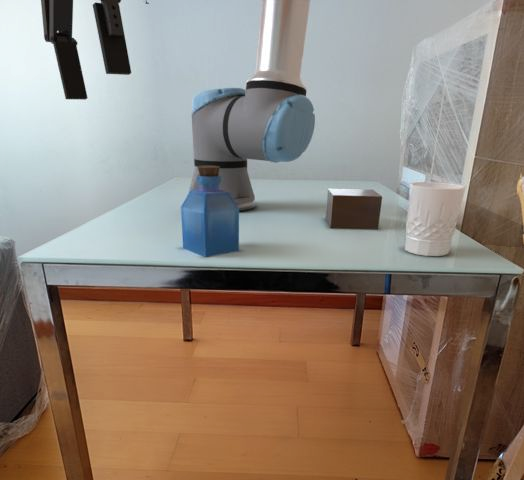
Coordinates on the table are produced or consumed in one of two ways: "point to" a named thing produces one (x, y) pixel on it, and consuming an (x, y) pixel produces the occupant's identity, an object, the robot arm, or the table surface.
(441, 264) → the table surface
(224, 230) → the perfume bottle
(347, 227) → the walnut block
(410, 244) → the white cup
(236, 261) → the table surface
